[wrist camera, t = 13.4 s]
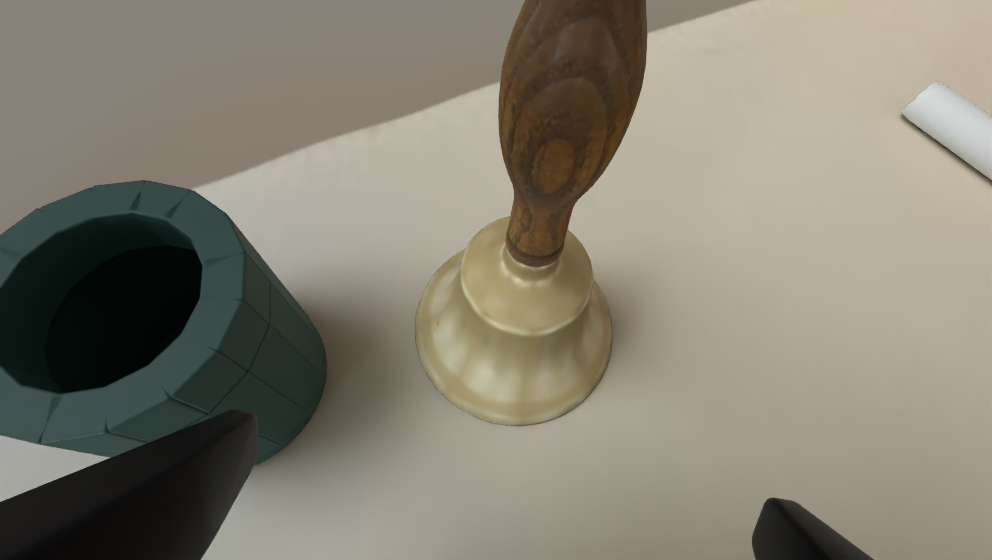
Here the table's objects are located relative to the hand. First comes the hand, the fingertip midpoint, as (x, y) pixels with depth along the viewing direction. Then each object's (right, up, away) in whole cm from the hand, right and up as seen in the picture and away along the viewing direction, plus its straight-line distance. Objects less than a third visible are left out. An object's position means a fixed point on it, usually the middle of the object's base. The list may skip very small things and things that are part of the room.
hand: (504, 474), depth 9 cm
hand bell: (+1, +1, +13) cm, 13 cm away
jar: (-10, -1, +11) cm, 15 cm away
